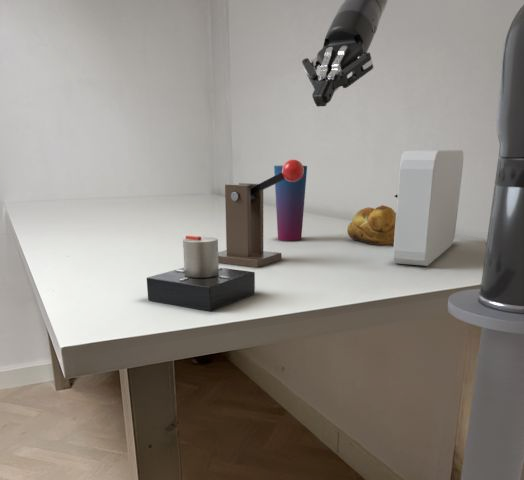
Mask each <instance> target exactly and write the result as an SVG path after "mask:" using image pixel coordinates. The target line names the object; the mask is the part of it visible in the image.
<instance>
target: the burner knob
mask: <svg viewBox="0 0 524 480" xmlns="http://www.w3.org/2000/svg"><path fill="white" fill-rule="evenodd" d="M182 247H183V248H182V249H183V250H182V251H183V268H184V272H185V276H187V277H192V278H208V277H214V276H217V275H218V274H219V268H220V267H219V266H220V265H219V263H218V252H219V238H217V237H213V236H200V235H199V236H198V235H189V234H188V235H185V238H183V239H182Z"/></svg>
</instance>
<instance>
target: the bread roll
mask: <svg viewBox="0 0 524 480" xmlns="http://www.w3.org/2000/svg"><path fill="white" fill-rule="evenodd" d="M395 223H396V211H395V210H394V209H393V208H392V207H389V206H387V205H384V204H382V205H380V206H377V207H375V208H374V207H368V206H367V207H364V208H362V209H360V210H358V211H357V212H356V213H355V215H354V216H353V217H352V220H351V222H350V223H348V225H347V229H346V230H347V235H348V236H349V238H350V239H352V240H355V241H359V242H364V243H365V244H368V245H373V246H374V245H376V246H388V245H389V246H390V245H394V236H395Z"/></svg>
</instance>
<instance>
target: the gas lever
mask: <svg viewBox="0 0 524 480" xmlns="http://www.w3.org/2000/svg"><path fill="white" fill-rule="evenodd" d="M282 165H283V168H282V172H281V173H279V174H277V175H275V174H274V175H273V176H272V177H269V178H268V179H265V180H264V181H262V182H260V183H257V184H258V185H256V186H254V187H252V185H251V201H253V200H255V199H257V198H256V195H255V194H256V193H258V192H260V191H262V190H263V191H264V190H267V189H268V188H270V187H272V186H275V184H276V183H278V182H280V181H282V180H284V179H286V180H287V181H289V182H296V181H298V180H300V179H301V178H302V176H303V173H304V168H303V165H304V164H302V162H301V161H299V160H298V159H295V158H291V159H288V160H287V161H286V162H284V164H282Z"/></svg>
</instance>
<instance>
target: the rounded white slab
mask: <svg viewBox="0 0 524 480" xmlns="http://www.w3.org/2000/svg"><path fill="white" fill-rule="evenodd" d="M463 168H464V151H463V150H462V149H434V150H433V149H429V150H428V149H427V150H424V149H423V150H405V151H404V152H403V153H402V155H401V159H400V165H399V175H398V184H397V187H398V188H397V194H395V195H394V198H396V211H395V212H396V223H395V236H394V244H393V249H392V250H393V251H392V253H393V254H392V255H393V256H392V257H393V258H392V259H393V262H394V264H398V265H408V266H418V267H419V266H420V267H428V266H429V265H430V264H431V263H433V262H434V261H435V260H436V259H437V258H438V257H440V256H441V255H443V253H445V251H447V250H448V249H449V248H450V247H452V246H453V243H454V240H455V236H456V229H457V220H458V212H459V205H460V204H459V202H460V194H461V185H462V177H463Z"/></svg>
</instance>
